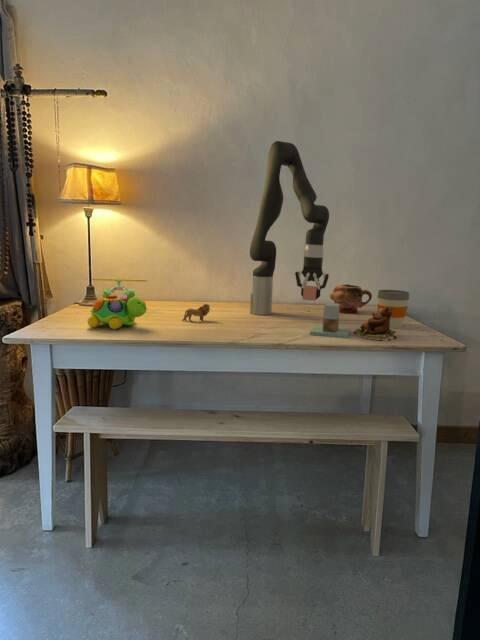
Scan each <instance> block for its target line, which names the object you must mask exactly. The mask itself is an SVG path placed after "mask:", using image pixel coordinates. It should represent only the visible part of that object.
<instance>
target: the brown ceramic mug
mask: <svg viewBox="0 0 480 640" xmlns="http://www.w3.org/2000/svg"><path fill="white" fill-rule="evenodd" d="M364 295H367V296H368V299H367V300H366V301H363V296H364ZM329 298H330V300H332V301H333V303H336V304H340V309H339V314H346V315H347V314H348V315H349V314H351V315H352V314H353V315H356V314H357V313H358V308H359V309H361V308H362V307H364V306H366V305H367V304H369V302H370V301H371V300H372V299H373V295H372V292H371V291H370V290H367V289H362V287H361V286H358V285H353V284H352V285H351V284H348V283H347V284H340V285H339V284H338V285H335V286H334V288H333V290H332V292H331V293H330V294H329Z"/></svg>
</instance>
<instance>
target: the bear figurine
mask: <svg viewBox="0 0 480 640" xmlns="http://www.w3.org/2000/svg"><path fill="white" fill-rule="evenodd" d="M392 309H393V308H392V307H391V308H389V307H386V308H381V309H379V310H378V309H377V312H374V311H372V317H370V318H368V319H367V321H365V322H363V323H362V324H361V325H360V328H357V329H355V330H354V331H353V332H352V333H353V335H355V336H358V337H360V338H362V339H363V338H365V339H369V340H374V341H380V340H381V341H384V342H389V341H392V340H394V339H395V338H398V337H399V336H398V334H397V331H396V330H392V329H391V328H390V326H389V325H390V316H391V315H392V311H391V310H392Z"/></svg>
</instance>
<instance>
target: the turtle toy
mask: <svg viewBox="0 0 480 640" xmlns="http://www.w3.org/2000/svg"><path fill="white" fill-rule="evenodd" d="M117 297H118V296H117V295H116V294H115V295H114V294H111V295H108V296H106V298H103V297H102V298H103V299H102V298H101V299H99V300H98V299H96V300H94V302H93V303H92V308H91V309H90V312H91V313H90V314H91V315H90V317H89V318H88V319H87V325H88V326H89V327H91V328H98V327H99V326H100V325H101V324H105V325H109V327H110V329H112V330H118V329H119V328H121V327H122V326H123V325H125V326H127V325H128V326H130V325H135V323H136V321H135V319H136V318H140V317H142V316H143V315H145V314H146V313H147V310H148V308H147V304H146V303H147V302H145V301H144V300H142V299H141V298H139V297H138V296H134V297H133V298H130V299H129V300H128V299H126V298H124V299H120V298H117Z"/></svg>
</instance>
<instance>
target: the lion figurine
mask: <svg viewBox="0 0 480 640" xmlns="http://www.w3.org/2000/svg"><path fill="white" fill-rule="evenodd" d="M210 310H211V307H210V304H209V303H204V304H203V305H202V306H200V307H199V308H195V309H194V308H191V307H190V308H187V309H186V310H185V312H184V316H183V319H182V320H181V321H182V322H184V321H185V322H190V323H193V322H194V321H193V320H192V316H194V317H199V321H200V320H201V321H200V322H202V321H204V318H205V317H206V316H207V315H208V314H209V313H210ZM187 318H188V319H187ZM188 320H189V321H188Z"/></svg>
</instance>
